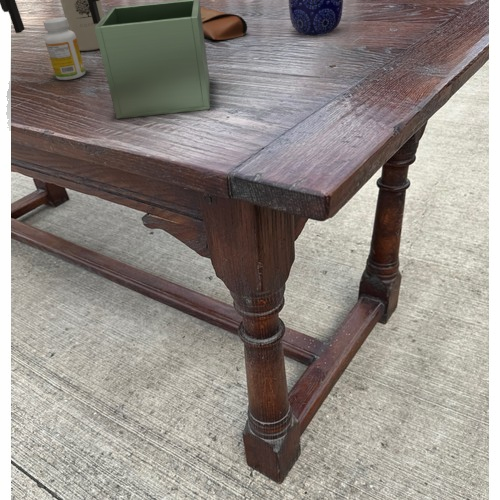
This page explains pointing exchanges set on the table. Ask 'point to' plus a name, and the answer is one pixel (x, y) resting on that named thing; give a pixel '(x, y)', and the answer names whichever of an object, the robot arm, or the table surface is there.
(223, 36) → the sunglasses case
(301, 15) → the planter
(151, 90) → the bin
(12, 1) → the robot arm
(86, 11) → the travel mug
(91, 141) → the table surface
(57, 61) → the supplement bottle
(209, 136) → the table surface
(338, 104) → the table surface
